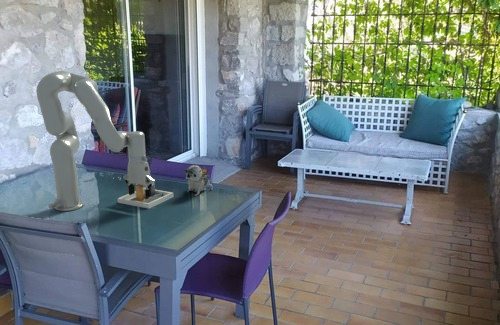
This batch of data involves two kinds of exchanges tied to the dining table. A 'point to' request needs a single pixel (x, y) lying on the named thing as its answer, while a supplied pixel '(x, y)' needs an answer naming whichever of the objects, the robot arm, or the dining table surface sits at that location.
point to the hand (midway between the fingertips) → (140, 195)
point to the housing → (147, 203)
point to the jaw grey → (153, 190)
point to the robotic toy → (197, 179)
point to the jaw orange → (139, 193)
